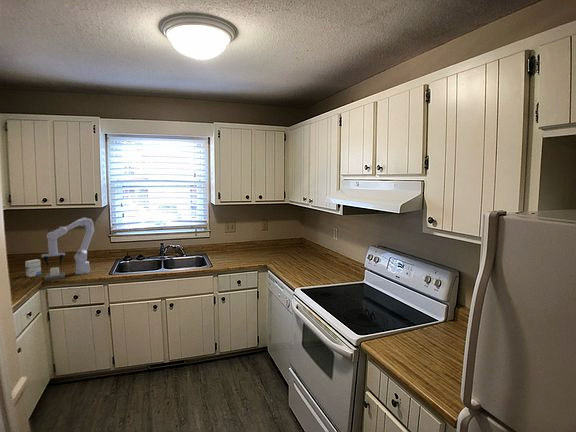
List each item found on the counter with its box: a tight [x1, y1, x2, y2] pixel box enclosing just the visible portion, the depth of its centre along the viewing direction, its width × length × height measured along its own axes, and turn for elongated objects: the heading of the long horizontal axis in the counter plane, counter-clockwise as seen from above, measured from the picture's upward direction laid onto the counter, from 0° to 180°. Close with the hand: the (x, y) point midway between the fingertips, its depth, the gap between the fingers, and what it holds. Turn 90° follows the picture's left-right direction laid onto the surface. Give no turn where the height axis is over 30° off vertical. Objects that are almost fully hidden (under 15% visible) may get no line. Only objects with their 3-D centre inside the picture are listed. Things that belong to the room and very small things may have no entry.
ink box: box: [24, 259, 42, 278], centre depth 264 cm, size 8×5×12 cm, turn 152°
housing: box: [49, 266, 60, 277], centre depth 259 cm, size 7×5×5 cm
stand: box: [43, 272, 66, 281], centre depth 260 cm, size 12×10×2 cm
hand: (54, 265), depth 259 cm, fingers open, 7 cm apart
